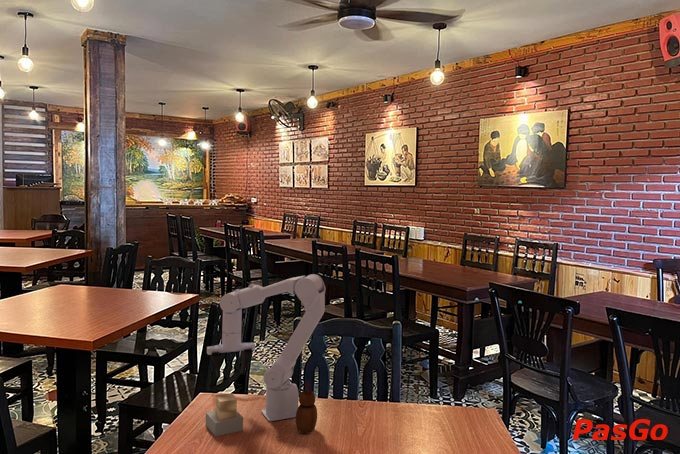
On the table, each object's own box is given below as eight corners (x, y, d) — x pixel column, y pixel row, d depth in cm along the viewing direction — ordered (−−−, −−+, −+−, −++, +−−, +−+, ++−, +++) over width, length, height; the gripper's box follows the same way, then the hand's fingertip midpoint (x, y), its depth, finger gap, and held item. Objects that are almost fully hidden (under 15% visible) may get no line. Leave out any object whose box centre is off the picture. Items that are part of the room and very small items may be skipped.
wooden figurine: (313, 437, 140) (314, 383, 140) (292, 434, 141) (294, 381, 141) (318, 426, 147) (320, 375, 146) (299, 424, 148) (301, 373, 147)
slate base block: (232, 420, 150) (232, 407, 150) (242, 431, 143) (243, 417, 143) (205, 426, 145) (205, 412, 145) (215, 437, 139) (215, 423, 139)
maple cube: (232, 410, 147) (232, 393, 147) (236, 416, 143) (236, 399, 143) (215, 412, 145) (215, 395, 145) (219, 419, 141) (219, 401, 141)
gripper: (251, 326, 163) (250, 368, 164) (205, 329, 157) (204, 373, 158) (257, 331, 157) (256, 375, 158) (210, 335, 151) (208, 381, 151)
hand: (230, 374), depth 157 cm, fingers open, 7 cm apart
